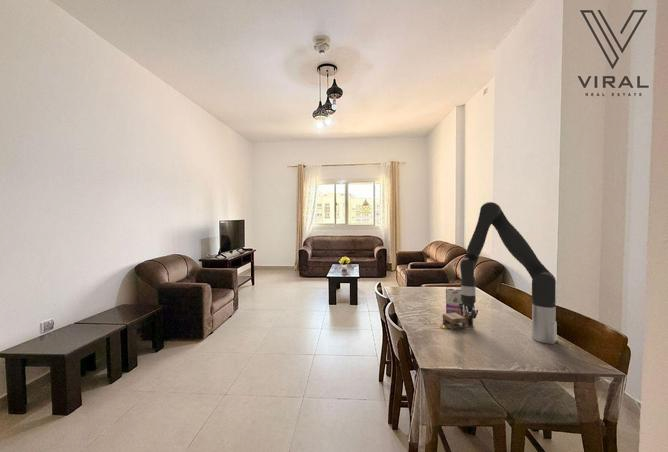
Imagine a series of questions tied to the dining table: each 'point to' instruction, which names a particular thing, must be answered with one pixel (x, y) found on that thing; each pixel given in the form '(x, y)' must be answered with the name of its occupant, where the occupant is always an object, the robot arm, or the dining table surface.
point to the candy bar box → (453, 300)
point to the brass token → (444, 326)
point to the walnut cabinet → (454, 319)
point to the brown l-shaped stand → (460, 323)
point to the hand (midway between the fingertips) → (468, 323)
